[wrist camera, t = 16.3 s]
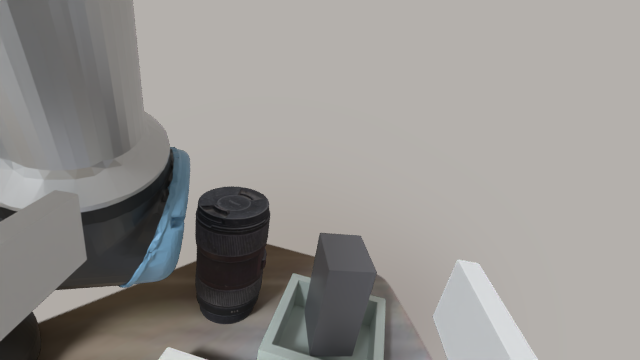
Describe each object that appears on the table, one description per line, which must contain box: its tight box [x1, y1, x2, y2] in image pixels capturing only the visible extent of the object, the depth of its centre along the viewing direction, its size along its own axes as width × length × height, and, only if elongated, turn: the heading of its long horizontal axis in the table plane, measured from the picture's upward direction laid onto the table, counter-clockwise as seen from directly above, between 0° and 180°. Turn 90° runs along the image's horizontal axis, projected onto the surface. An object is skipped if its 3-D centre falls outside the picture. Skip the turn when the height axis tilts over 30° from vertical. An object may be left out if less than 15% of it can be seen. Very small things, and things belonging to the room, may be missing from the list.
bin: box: [257, 273, 386, 360], centre depth 38 cm, size 12×12×5 cm
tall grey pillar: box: [304, 233, 377, 357], centre depth 36 cm, size 4×6×13 cm
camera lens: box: [196, 187, 270, 324], centre depth 40 cm, size 8×8×15 cm
